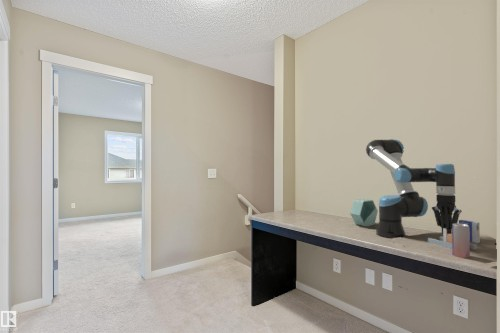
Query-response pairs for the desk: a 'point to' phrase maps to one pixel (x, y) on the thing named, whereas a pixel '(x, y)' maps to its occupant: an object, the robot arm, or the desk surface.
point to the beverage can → (461, 240)
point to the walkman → (472, 230)
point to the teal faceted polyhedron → (364, 212)
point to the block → (449, 238)
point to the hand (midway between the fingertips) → (446, 241)
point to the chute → (445, 244)
